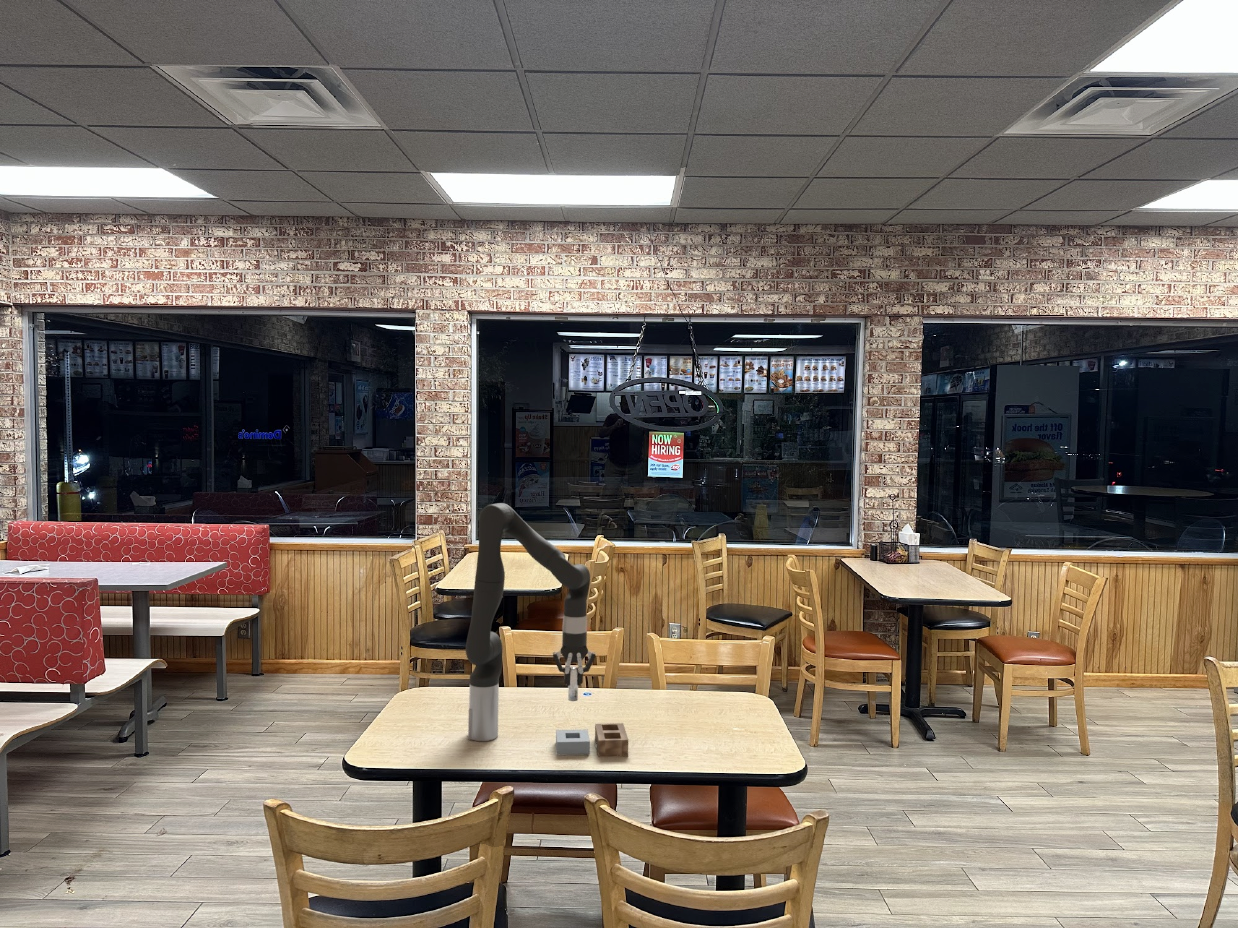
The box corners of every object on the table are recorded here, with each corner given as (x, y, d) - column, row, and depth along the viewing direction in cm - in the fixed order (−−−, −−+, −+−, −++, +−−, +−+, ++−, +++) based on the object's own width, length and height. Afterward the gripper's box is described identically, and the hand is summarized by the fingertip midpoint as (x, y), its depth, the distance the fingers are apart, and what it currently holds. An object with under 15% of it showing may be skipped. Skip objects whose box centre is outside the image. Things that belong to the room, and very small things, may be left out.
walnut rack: (598, 756, 237) (598, 740, 237) (594, 739, 251) (595, 723, 251) (628, 755, 238) (628, 739, 238) (622, 738, 252) (623, 722, 252)
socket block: (556, 754, 238) (557, 741, 238) (555, 742, 248) (556, 729, 247) (589, 754, 239) (589, 741, 239) (587, 741, 249) (587, 729, 249)
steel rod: (568, 701, 241) (569, 669, 241) (568, 697, 244) (568, 666, 244) (578, 701, 241) (578, 668, 241) (577, 697, 244) (578, 666, 244)
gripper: (552, 632, 238) (550, 689, 238) (598, 632, 239) (597, 688, 240) (551, 626, 245) (550, 681, 246) (596, 626, 247) (595, 681, 247)
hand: (573, 684), depth 243 cm, fingers closed on steel rod, 3 cm apart
